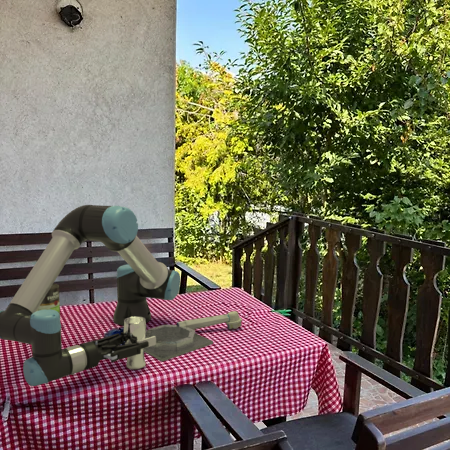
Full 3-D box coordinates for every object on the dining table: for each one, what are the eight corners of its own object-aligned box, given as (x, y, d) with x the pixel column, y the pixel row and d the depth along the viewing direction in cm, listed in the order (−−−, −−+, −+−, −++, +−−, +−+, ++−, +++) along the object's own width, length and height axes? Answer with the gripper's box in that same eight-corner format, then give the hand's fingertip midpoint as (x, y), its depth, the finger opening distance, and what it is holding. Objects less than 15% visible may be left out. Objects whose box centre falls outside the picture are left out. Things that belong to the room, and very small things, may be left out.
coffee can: (66, 317, 189) (64, 284, 187) (48, 325, 179) (46, 291, 177) (46, 314, 193) (45, 282, 191) (27, 322, 183) (26, 288, 181)
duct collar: (126, 341, 164) (126, 332, 163) (175, 327, 178) (175, 318, 178) (162, 361, 148) (162, 351, 147) (213, 343, 162) (213, 334, 162)
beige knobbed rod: (175, 320, 173) (238, 306, 179) (178, 336, 174) (240, 322, 180) (177, 324, 168) (241, 310, 174) (180, 341, 169) (244, 327, 175)
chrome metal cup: (128, 372, 140) (126, 325, 138) (122, 363, 146) (121, 318, 144) (149, 367, 143) (149, 321, 141) (143, 358, 149) (142, 314, 147)
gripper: (67, 359, 139) (133, 339, 154) (97, 381, 125) (166, 357, 140) (66, 335, 138) (132, 318, 153) (97, 355, 124) (166, 334, 139)
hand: (148, 337), depth 147 cm, fingers closed on chrome metal cup, 6 cm apart
